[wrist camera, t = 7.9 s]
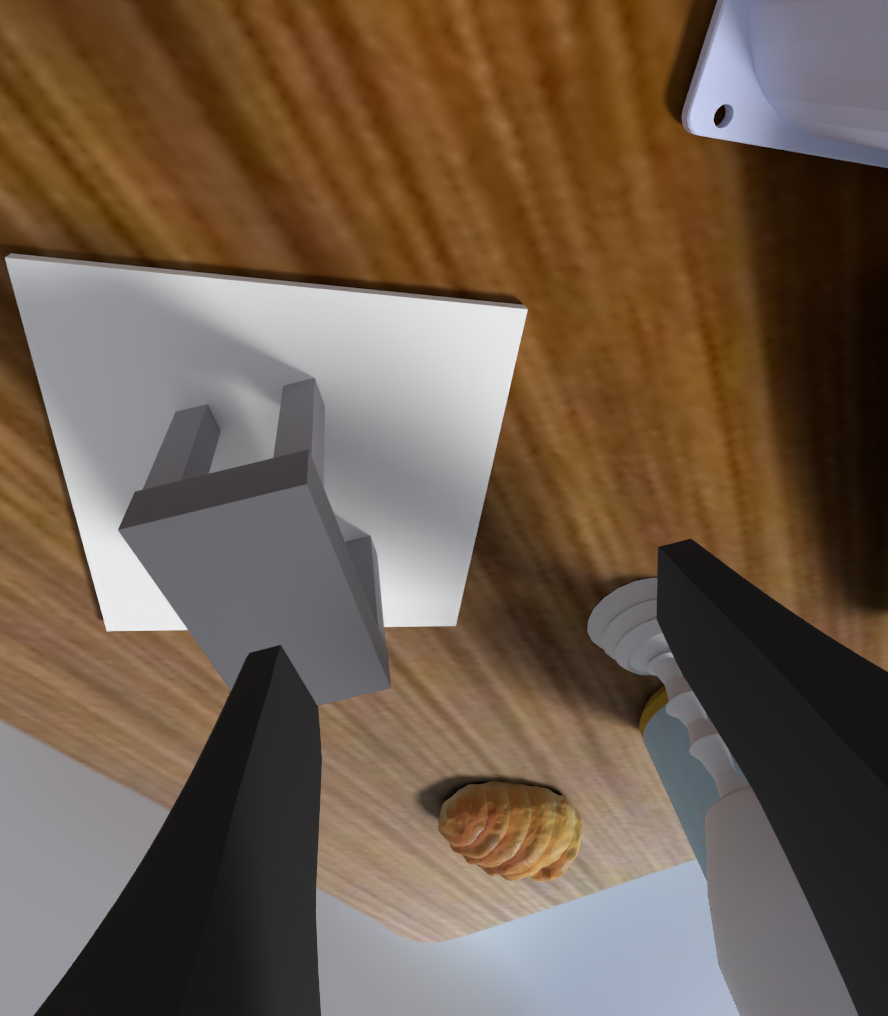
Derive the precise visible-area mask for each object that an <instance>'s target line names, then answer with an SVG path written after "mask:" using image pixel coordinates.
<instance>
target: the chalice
mask: <svg viewBox="0 0 888 1016" xmlns="http://www.w3.org/2000/svg"><path fill="white" fill-rule="evenodd" d="M656 615H657V578H649V579H643V580H638V581H634V582H632V583H629V584H627V585H624V586H622V587H619V588H618V589H616V590H615V591H613V592H612V593H610V594H609V595H607V596H606V597H604V598H603V599H602V600H601V602H600V603H599V604H598V605H597V606H596V607H595V608H594V609H593V611H592V613H591V615H590V617H589V620H588V628H587V632H588V634H589V636H590V638H591V641H592V642H594V643H595V644H596V645H598V646H599V647H600V648H602V649H604V651H605V653H606V654H608V655H609V656H610V657H611V658H613V659H614V660H616V661H617V663H618V664H619V665H620V666H621V667H623V668H624V669H626V670H628V671H631V672H633V673H636V674H639V675H654V676H658V678H659V679H660V680H661V681H662V682H663V684H664V685H665V688H666V691H667V695H668V699H669V701H668V703H667V706H666V712H667V714H669V715H670V716H673V717H676V718H678V719H679V720H680V721H681V722H682V723H683V724H684V725H685V726H686V727H687V728H688V733H689V737H690V742H691V743H690V749H689V753H690V755H692V756H693V757H695V758H697V759H699V760H700V761H701V762H702V764H703V765H704V766H705V768H706V769H707V770H708V771H709V773H710V774H711V775H712V777H713V778H714V780H715V783H716V786H717V790H718V793H719V796H720V799H719V800H718V801H717V802H716V803H715V804H714V805H712V806H711V808H710V809H709V810H708V811H707V812H706V816H705V833H706V859H707V885H708V898H709V905H710V911H711V918H712V924H713V931H714V938H715V944H716V950H717V957H718V963H719V967H720V969H721V972H722V974H723V976H724V979H725V981H726V983H727V985H728V988H729V990H730V993H731V995H732V997H733V1000H734V1002H735V1004H736V1007H737V1009H738V1012H739V1014H740V1016H858V1013H857V1011H856V1009H855V1006H854V1004H853V1002H852V999H851V997H850V995H849V992H848V990H847V988H846V985H845V983H844V981H843V978H842V976H841V974H840V972H839V970H838V967H837V965H836V963H835V961H834V958H833V956H832V954H831V952H830V950H829V947H828V945H827V943H826V941H825V938H824V936H823V934H822V932H821V930H820V927H819V925H818V923H817V921H816V919H815V916H814V914H813V912H812V910H811V908H810V906H809V903H808V901H807V899H806V897H805V895H804V893H803V891H802V889H801V887H800V884H799V882H798V880H797V878H796V876H795V874H794V872H793V870H792V868H791V865H790V863H789V861H788V859H787V857H786V855H785V853H784V851H783V849H782V847H781V845H780V843H779V841H778V839H777V837H776V835H775V833H774V831H773V829H772V827H771V825H770V823H769V821H768V819H767V817H766V815H765V812H764V810H763V808H762V806H761V804H760V802H759V800H758V799H757V797H756V795H755V793H754V792H753V790H752V788H751V787H749V786H748V785H747V784H746V783H745V781H744V780H743V779H742V778H741V776H740V775H739V774H738V773H737V772H736V770H735V768H734V765H733V762H732V759H731V756H730V753H729V750H728V748H727V746H726V745H725V743H724V741H723V740H722V738H721V736H720V735H719V733H718V732H717V730H716V729H715V728H714V727H713V726H712V725H711V724H710V723H709V722H708V720H707V716H706V712H705V710H704V709H703V707H702V706H701V704H700V702H699V701H698V699H697V697H696V696H695V694H694V692H693V691H692V689H691V687H690V686H689V684H688V682H687V681H686V680H685V679H684V678H683V675H682V672H681V671H680V669H679V667H678V665H677V663H676V661H675V659H674V657H673V655H672V652H671V650H670V648H669V646H668V644H667V642H666V639H665V637H664V635H663V633H662V630H661V628H660V626H659V624H658V622H657V619H656Z"/></svg>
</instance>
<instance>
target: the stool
mask: <svg viewBox="0 0 888 1016" xmlns="http://www.w3.org/2000/svg"><path fill="white" fill-rule="evenodd" d="M220 433H221V431H220V429H219V427H218V425H217V423H216V421H215V419H214V417H213V415H212V413H211V411H210V409H209V407H208V404H206V405H201V406H197V407H193V408H189V409H185V410H181V411H177V412H175V414H174V417H173V419H172V421H171V424H170V426H169V428H168V431H167V433H166V435H165V438H164V440H163V443H162V445H161V447H160V450H159V452H158V454H157V457H156V459H155V461H154V464H153V466H152V468H151V471H150V473H149V475H148V478H147V480H146V482H145V485H144V487H143V489H142V490H140V491H135V492H134V495H133V497H132V499H131V501H130V504H129V506H128V508H127V510H126V513H125V515H124V517H123V519H122V522H121V524H120V526H119V528H118V531H119V533H120V534H121V535H122V537H123V538H124V540H125V541H126V542H127V544H128V545H129V547H130V548H131V550H132V551H133V552H134V554H135V555H136V557H137V558H138V560H139V561H140V562H141V564H142V565H143V567H144V568H145V569H146V571H147V572H148V574H149V575H150V577H151V578H152V579H153V581H154V582H155V584H156V585H157V587H158V588H159V589H160V591H161V592H162V594H163V595H164V596H165V598H166V599H167V601H168V602H169V604H170V605H171V606H172V608H173V609H174V611H175V612H176V614H177V615H178V616H179V618H180V619H181V621H182V622H183V623H184V625H185V626H186V628H187V629H188V631H189V632H190V633H191V635H192V636H193V638H194V639H195V641H196V642H197V643H198V645H199V646H200V648H201V649H202V650H203V652H204V653H205V655H206V656H207V658H208V659H209V660H210V662H211V663H212V665H213V666H214V668H215V669H216V670H217V672H218V673H219V675H220V676H221V677H222V679H223V680H224V682H225V683H226V685H227V686H228V687H229V689H230V690H232V688H233V685H234V683H235V681H236V679H237V676H238V674H239V672H240V670H241V668H242V665H243V663H244V661H245V659H246V657H247V656H248V654H249V653H251V652H254V651H258V650H262V649H266V648H270V647H274V646H278V645H281V646H282V648H283V649H284V651H285V652H286V654H287V656H288V657H289V659H290V661H291V662H292V664H293V666H294V667H295V669H296V671H297V672H298V674H299V676H300V677H301V679H302V681H303V682H304V684H305V686H306V687H307V689H308V691H309V692H310V694H311V696H312V697H313V699H314V701H315V702H316V704H317V706H319V705H323V704H327V703H331V702H335V701H339V700H343V699H347V698H351V697H356V696H360V695H364V694H368V693H372V692H376V691H380V690H384V689H388V688H391V683H390V673H389V662H388V652H387V648H386V642H385V632H384V621H383V610H382V599H381V589H380V578H379V567H378V556H377V552H376V550H375V547H374V544H373V541H372V538H371V536H367V537H363V538H359V539H355V540H351V541H347V542H345V541H344V538H343V536H342V533H341V531H340V528H339V525H338V523H337V520H336V518H335V515H334V513H333V510H332V508H331V505H330V503H329V500H328V497H327V495H326V492H325V490H324V433H325V405H324V402H323V399H322V397H321V394H320V391H319V388H318V385H317V382H316V380H315V378H313V379H309V380H305V381H301V382H296V383H292V384H288V385H284V386H283V391H282V398H281V406H280V413H279V420H278V427H277V434H276V441H275V448H274V456H273V458H271V459H267V460H263V461H259V462H255V463H251V464H247V465H243V466H238V467H234V468H230V469H226V470H222V471H218V472H214V473H210V474H209V471H210V467H211V464H212V460H213V457H214V453H215V450H216V446H217V443H218V440H219V436H220Z"/></svg>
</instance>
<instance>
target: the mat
mask: <svg viewBox="0 0 888 1016" xmlns="http://www.w3.org/2000/svg"><path fill="white" fill-rule="evenodd" d="M5 261H6V264H7V268H8V272H9V275H10V279H11V283H12V286H13V290H14V294H15V297H16V301H17V305H18V308H19V312H20V316H21V319H22V323H23V326H24V330H25V334H26V337H27V341H28V345H29V348H30V352H31V356H32V359H33V363H34V367H35V370H36V374H37V378H38V381H39V385H40V389H41V392H42V396H43V400H44V403H45V407H46V411H47V414H48V418H49V422H50V425H51V429H52V433H53V436H54V440H55V443H56V447H57V451H58V454H59V458H60V462H61V465H62V469H63V473H64V476H65V480H66V484H67V487H68V491H69V495H70V498H71V502H72V506H73V509H74V513H75V517H76V520H77V524H78V528H79V531H80V535H81V539H82V542H83V546H84V550H85V553H86V557H87V560H88V564H89V568H90V571H91V575H92V579H93V582H94V586H95V590H96V593H97V597H98V601H99V604H100V608H101V612H102V615H103V619H104V623H105V626H106V630H107V631H150V630H188V629H187V628H186V626H185V625H184V623H183V622H182V621H181V619H180V618H179V616H178V615H177V614H176V612H175V611H174V609H173V608H172V606H171V605H170V604H169V602H168V601H167V599H166V598H165V596H164V595H163V594H162V592H161V591H160V589H159V588H158V587H157V585H156V584H155V582H154V581H153V579H152V578H151V577H150V575H149V574H148V572H147V571H146V569H145V568H144V567H143V565H142V564H141V562H140V561H139V560H138V558H137V557H136V555H135V554H134V552H133V551H132V550H131V548H130V547H129V545H128V544H127V542H126V541H125V540H124V538H123V537H122V535H121V534H120V533H119V531H118V528H119V526H120V524H121V522H122V519H123V517H124V515H125V513H126V510H127V508H128V506H129V504H130V501H131V499H132V497H133V495H134V492H135V491H140V490H142V489H143V487H144V485H145V482H146V480H147V478H148V475H149V473H150V471H151V468H152V466H153V464H154V461H155V459H156V457H157V454H158V452H159V450H160V447H161V445H162V443H163V440H164V438H165V435H166V433H167V431H168V428H169V426H170V424H171V421H172V419H173V417H174V414H175V412H177V411H181V410H185V409H189V408H193V407H197V406H201V405H206V404H208V407H209V409H210V411H211V413H212V415H213V417H214V419H215V421H216V423H217V425H218V427H219V429H220V431H221V433H220V436H219V440H218V443H217V446H216V450H215V453H214V457H213V460H212V464H211V467H210V471H209V474H210V473H214V472H218V471H222V470H226V469H230V468H234V467H238V466H243V465H247V464H251V463H255V462H259V461H263V460H267V459H271V458H273V456H274V448H275V441H276V434H277V427H278V420H279V413H280V406H281V398H282V391H283V386H284V385H288V384H292V383H296V382H301V381H305V380H309V379H313V378H315V380H316V382H317V385H318V388H319V391H320V394H321V397H322V399H323V402H324V405H325V433H324V490H325V492H326V495H327V497H328V500H329V503H330V505H331V508H332V510H333V513H334V515H335V518H336V520H337V523H338V525H339V528H340V531H341V533H342V536H343V538H344V541H345V542H347V541H351V540H355V539H359V538H363V537H367V536H371V538H372V541H373V544H374V547H375V550H376V552H377V556H378V567H379V578H380V589H381V599H382V610H383V621H384V627H415V626H456V623H457V618H458V614H459V609H460V605H461V601H462V596H463V592H464V587H465V583H466V579H467V574H468V570H469V565H470V561H471V557H472V552H473V548H474V543H475V539H476V535H477V530H478V526H479V521H480V517H481V513H482V508H483V504H484V499H485V495H486V490H487V486H488V482H489V477H490V473H491V468H492V464H493V460H494V455H495V451H496V446H497V442H498V438H499V433H500V429H501V424H502V420H503V416H504V411H505V407H506V402H507V398H508V394H509V389H510V385H511V380H512V376H513V372H514V367H515V363H516V358H517V354H518V350H519V345H520V341H521V336H522V332H523V328H524V323H525V319H526V314H527V310H528V309H527V308H526V306H525V305H521V304H511V303H501V302H491V301H481V300H471V299H461V298H451V297H441V296H431V295H421V294H411V293H401V292H391V291H381V290H371V289H361V288H351V287H341V286H331V285H321V284H311V283H301V282H291V281H281V280H271V279H261V278H251V277H241V276H231V275H222V274H212V273H202V272H192V271H182V270H172V269H162V268H152V267H142V266H132V265H122V264H112V263H102V262H92V261H82V260H72V259H62V258H52V257H42V256H32V255H22V254H12V253H11V254H10V255H8V256H6V257H5Z"/></svg>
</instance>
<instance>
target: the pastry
mask: <svg viewBox="0 0 888 1016" xmlns="http://www.w3.org/2000/svg"><path fill="white" fill-rule="evenodd" d="M561 795H562V794H561ZM582 827H583V825H582V820H581V818H580V815H579V814H578V812H577V811H576V809H575V808H574V807H573V806H572V805H571V804H570V803H569V802H568V801H567V800H566V799H565V797H564V796H563V795H562V796H559V795H557V794H555V793H553V792H552V791H551V790H550V789H547V788H542V787H538V786H535V785H534V786H528V785H525V784H517V783H508V782H497V781H492V782H487V783H485V784H469V785H466V786H465V787H464V788H462V789H460V790H458V791H457V792H456V793H455V794H454V795H453V796H452V797H451V798H449V799H448V800H446V801H445V802H444V803H443V805H442V807H441V812H440V817H439V823H438V829H439V832H440V833H441V835H442V836H443V837H444V838H446V840H447V841H448V842H449V843H450V845H451V848H452V850H453V851H454V852H456V853H460V854H462V855H463V856H464V858H465V859H466V861H467V862H468V863H470V864H476V865H478V866H479V867H480V868H482V869H483V870H484V871H485V872H486V873H487V874H489V875H490V876H497V875H500V876H502V877H503V878H505V879H506V880H509V881H513V880H520V879H521V878H523V877H526V876H527V877H529V878H531V879H532V880H533V881H552V880H553V879H555V878H558V877H560V876H562V875H563V874H564V873H565V872H566V870H567V869H568V867H569V865H570V863H571V861H572V860H573V859H575V858H576V856H577V853H578V850H579V847H580V840H581V835H582Z"/></svg>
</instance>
